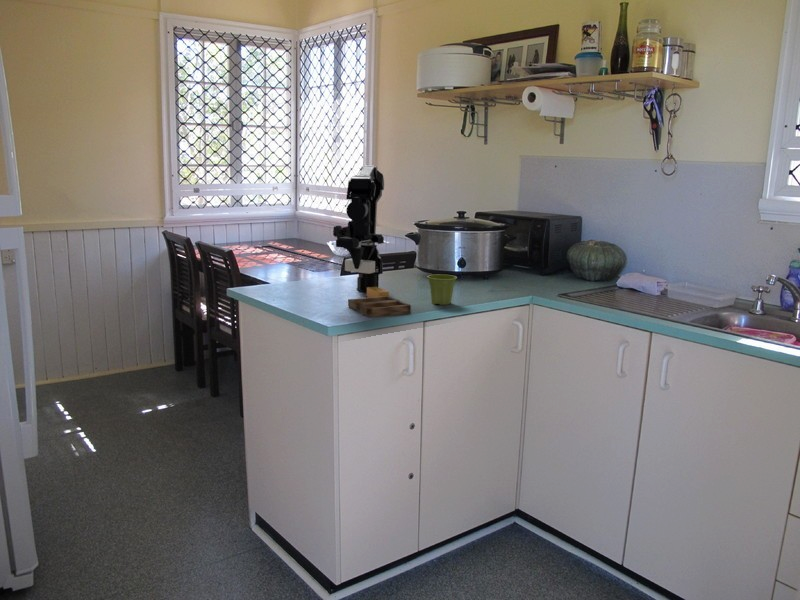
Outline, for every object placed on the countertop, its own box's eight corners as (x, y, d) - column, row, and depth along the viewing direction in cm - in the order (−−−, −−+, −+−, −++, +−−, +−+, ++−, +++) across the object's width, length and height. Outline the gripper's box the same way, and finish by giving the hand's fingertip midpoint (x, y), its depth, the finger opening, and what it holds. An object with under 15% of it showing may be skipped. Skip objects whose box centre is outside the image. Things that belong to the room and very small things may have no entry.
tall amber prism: (366, 297, 221) (366, 287, 220) (376, 296, 223) (376, 286, 222) (378, 303, 213) (379, 292, 213) (388, 302, 215) (388, 291, 214)
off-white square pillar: (344, 270, 210) (344, 259, 209) (351, 269, 213) (351, 258, 212) (368, 273, 205) (369, 262, 204) (375, 272, 208) (375, 261, 207)
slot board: (388, 303, 212) (388, 295, 212) (410, 312, 200) (410, 305, 199) (348, 306, 206) (348, 299, 205) (368, 317, 193) (368, 308, 193)
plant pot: (421, 301, 217) (422, 274, 215) (447, 299, 220) (448, 273, 219) (434, 307, 208) (435, 279, 207) (460, 305, 212) (462, 278, 210)
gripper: (355, 215, 217) (355, 262, 220) (321, 218, 202) (321, 269, 205) (385, 217, 212) (384, 265, 215) (352, 220, 196) (351, 272, 199)
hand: (360, 268), depth 209 cm, fingers closed on off-white square pillar, 3 cm apart
